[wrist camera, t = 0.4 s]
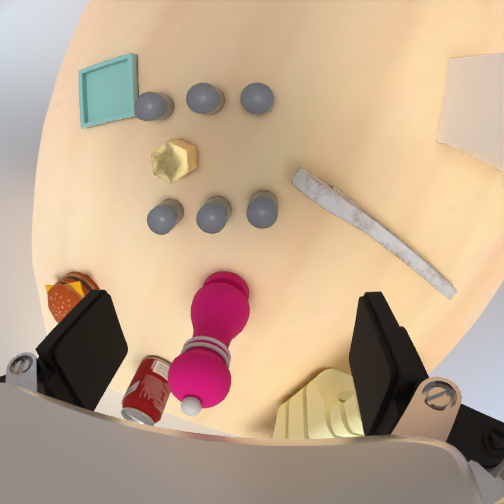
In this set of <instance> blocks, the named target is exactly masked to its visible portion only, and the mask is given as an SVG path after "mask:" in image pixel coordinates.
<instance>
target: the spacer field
mask: <svg viewBox="0 0 504 504" xmlns="http://www.w3.org/2000/svg"><path fill="white" fill-rule="evenodd" d="M224 100H225V99H224V95H223V93H222V92H221V91H220V90H219V89H217V88H215V87H213V86H211V85H209V84H207V83H199V84H196V85H194V86H193V87H191V89H190V90H189V91H188V93H187V96H186V102H187V105H188V107H189V108H190V109H191V110H192V111H194V112H197V113H204V114H214V113H217V112H218V111H220V110H221V108H222V107H223V105H224ZM241 103H242V105H243V107H244V108H245V109H246V110H247V111H249V112H251V113H253V114H256V115H264V114H267V113H268V112H270V111H271V110H272V108H273V106H274V96H273V93H272V91H271V89H270V88H269V87H268V86H266V85H264V84H262V83H253V84H250V85H248V86H247V87H245V88H244V90H243V91H242V93H241ZM173 109H174V103H173V101H172V99H171V98H170V97H169V96H167V95H163V94H158V93H153V92H146V93H143V94H141V95H140V96H139V97H138V98H137V99H136V101H135V104H134V112H135V114H136V116H137V117H138V118H139V119H141V120H144V121H153V120H165V119H167V118H168V117H169V116H170V115H171V114H172V112H173ZM277 212H278V202H277V199H276V197H275V196H274V195H273V194H272V193H271V192H268V191H259V192H257V193H256V194H254V195H253V197H252V199H251V201H250V204H249V206H248V209H247V218H248V220H249V222H250V223H251V224H252V225H253V226H255V227H257V228H261V229H263V228H268V227H270V226H272V225H273V224H274V223H275V221H276V219H277ZM183 213H184V211H183V207H182V205H181V204H180V203H179V202H178V201H177V200H175V199H167V200H165V201H163V202H162V203H161V204H159V205H158V206H156V207H155V208H154V209H152V210H151V211H150V212H149V214H148V216H147V223H148V226H149V228H150V229H151V230H152V231H153V232H154V233H156V234H159V235H164V234H167V233H168V232H169V231H170V230H171V229H172V228H173V227H174V226H175V225H176V224H177V223H178V222H179V221H180V220H181V219H182V217H183ZM230 214H231V205H230V203H229V202H228V200H226V199H225V198H223V197H220V196H215V197H212V198H210V199H209V200H208V201H207V202H206V203H205V205H204V206H203V207H202V208H201V209H200V210H199V212H198V214H197V218H196V219H197V224H198V226H199V227H200V229H201V230H203V231H204V232H206V233H210V234H214V233H218V232H219V231H221V230H222V229H223V227H224V226H225V224H226V222H227V220H228V218H229V216H230Z"/></svg>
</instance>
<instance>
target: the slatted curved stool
mask: <svg viewBox="0 0 504 504" xmlns="http://www.w3.org/2000/svg"><path fill="white" fill-rule="evenodd" d="M359 436H365V435H364V432H363V426H362V421H361V416H360V411H359V406H358V401H357V396H356V391H355V386H354V382H353V377H352V376H350V375H348V374H346V373H344V372H341V371H339V370H337V369H326V370H324V371H322V372H321V373H320V374H319V375H318V376H316V377H315V378H314V379H313V380H312V381H311V382H309V383H308V384H307V385H306V386H305V387H304V388H302V389H301V390H300V391H299V392H297V393H296V394H295V395H294V396H293V397H291V398H290V399H289V400H288V401H286V402H285V403H284V404H282V405H281V406H280V407H279V408H278V411H277V419H276V424H275V428H274V432H273V436H272V439H324V438H342V437H359Z"/></svg>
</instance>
